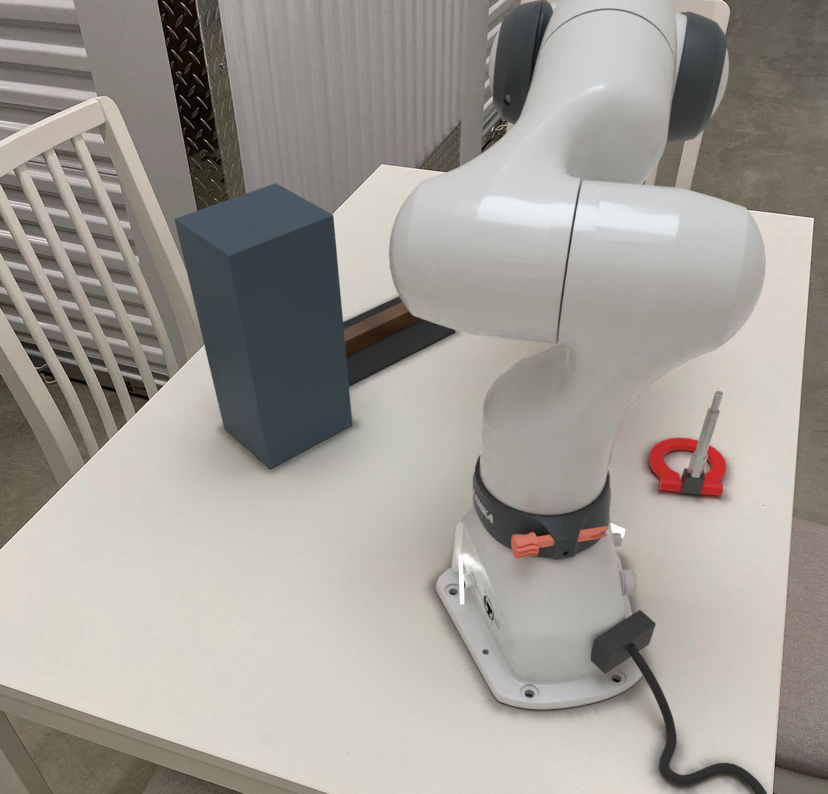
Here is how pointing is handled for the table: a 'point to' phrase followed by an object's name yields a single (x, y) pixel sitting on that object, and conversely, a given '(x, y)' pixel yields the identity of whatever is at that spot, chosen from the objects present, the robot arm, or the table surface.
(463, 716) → the table surface
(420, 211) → the robot arm
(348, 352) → the hanger bar
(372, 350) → the mat
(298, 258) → the stand
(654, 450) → the tow hook
